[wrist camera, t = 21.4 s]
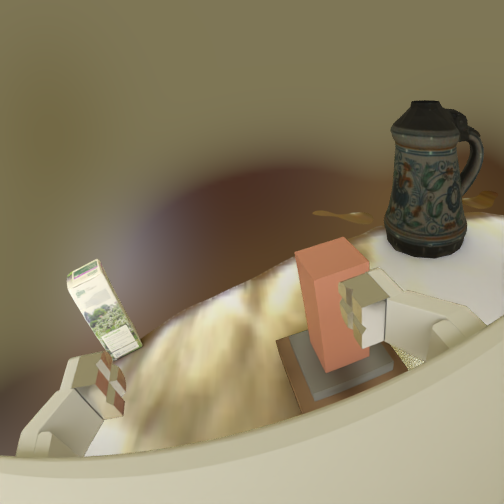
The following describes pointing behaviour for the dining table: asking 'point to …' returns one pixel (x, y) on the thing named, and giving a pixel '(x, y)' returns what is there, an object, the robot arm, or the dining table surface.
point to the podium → (333, 372)
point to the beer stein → (430, 180)
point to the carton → (330, 300)
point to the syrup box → (103, 309)
